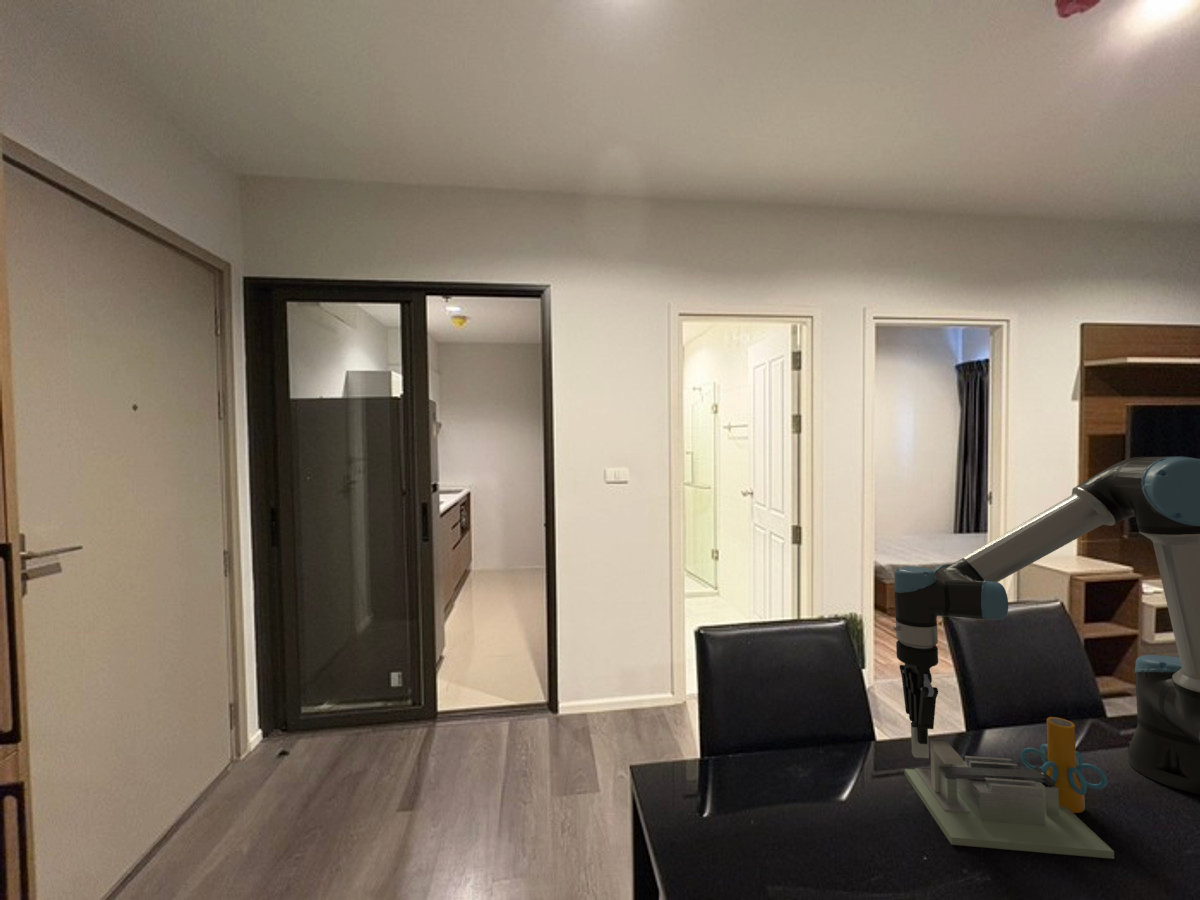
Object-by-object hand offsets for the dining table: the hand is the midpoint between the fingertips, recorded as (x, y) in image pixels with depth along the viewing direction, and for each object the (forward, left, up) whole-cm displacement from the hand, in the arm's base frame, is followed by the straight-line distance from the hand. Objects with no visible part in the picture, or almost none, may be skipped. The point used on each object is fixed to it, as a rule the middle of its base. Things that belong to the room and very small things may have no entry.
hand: (920, 755), depth 112 cm
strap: (-8, +12, +3) cm, 15 cm away
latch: (0, +12, -1) cm, 12 cm away
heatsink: (-8, +12, -2) cm, 15 cm away
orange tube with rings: (-21, +9, -3) cm, 23 cm away
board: (-8, +12, -3) cm, 15 cm away
